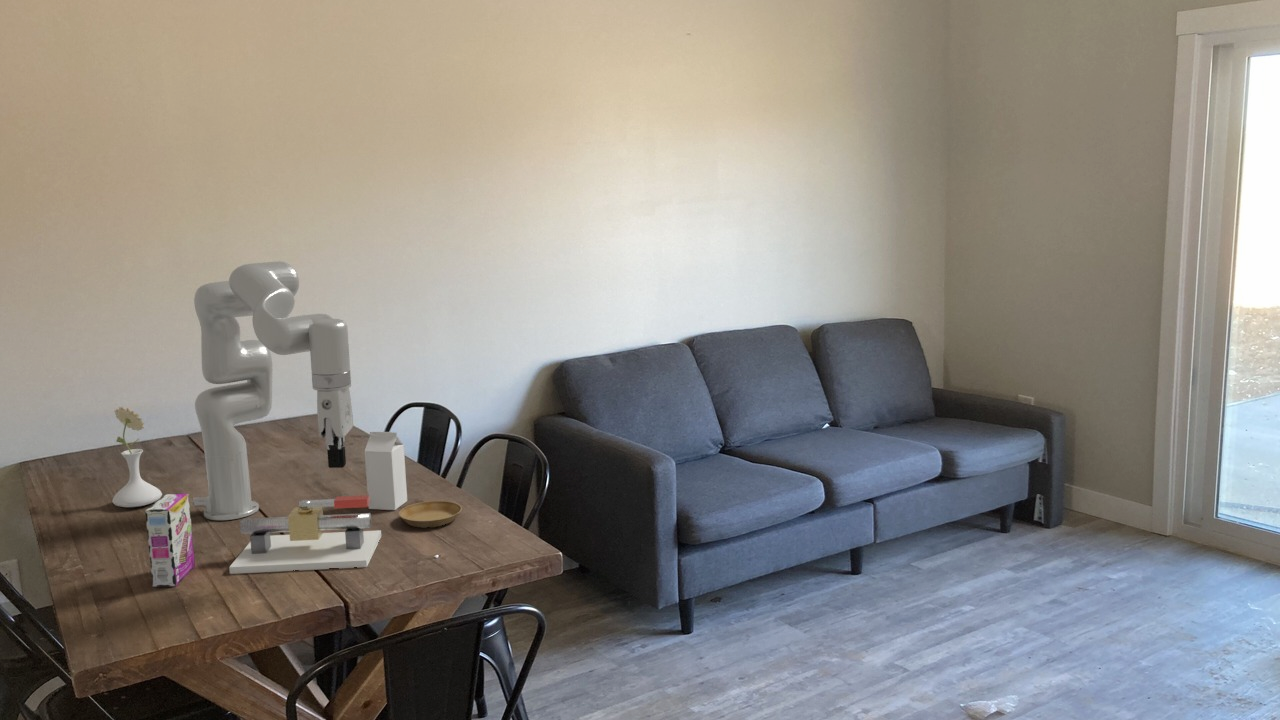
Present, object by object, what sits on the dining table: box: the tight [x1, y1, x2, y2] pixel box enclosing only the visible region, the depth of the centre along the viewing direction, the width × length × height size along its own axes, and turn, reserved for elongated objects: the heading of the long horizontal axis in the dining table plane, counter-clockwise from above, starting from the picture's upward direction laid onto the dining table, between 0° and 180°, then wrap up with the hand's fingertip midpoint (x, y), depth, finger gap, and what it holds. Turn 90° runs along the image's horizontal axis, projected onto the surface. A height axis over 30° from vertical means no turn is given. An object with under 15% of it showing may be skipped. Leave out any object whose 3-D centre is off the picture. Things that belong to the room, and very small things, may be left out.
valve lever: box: [298, 494, 370, 510], centre depth 214 cm, size 3×15×2 cm, turn 95°
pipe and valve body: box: [239, 506, 372, 554], centre depth 215 cm, size 27×6×9 cm, turn 95°
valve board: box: [228, 529, 382, 575], centre depth 216 cm, size 28×18×2 cm, turn 95°
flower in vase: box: [112, 406, 163, 508], centre depth 251 cm, size 13×11×25 cm
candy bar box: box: [144, 493, 196, 588], centre depth 204 cm, size 11×5×16 cm, turn 5°
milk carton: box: [364, 430, 408, 511], centre depth 246 cm, size 7×7×19 cm
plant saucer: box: [398, 500, 463, 529], centre depth 236 cm, size 15×15×3 cm
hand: (337, 466), depth 205 cm, fingers closed
